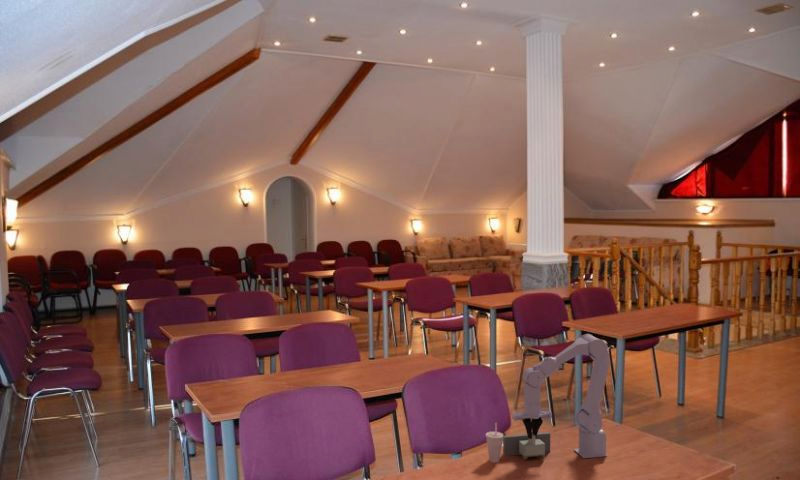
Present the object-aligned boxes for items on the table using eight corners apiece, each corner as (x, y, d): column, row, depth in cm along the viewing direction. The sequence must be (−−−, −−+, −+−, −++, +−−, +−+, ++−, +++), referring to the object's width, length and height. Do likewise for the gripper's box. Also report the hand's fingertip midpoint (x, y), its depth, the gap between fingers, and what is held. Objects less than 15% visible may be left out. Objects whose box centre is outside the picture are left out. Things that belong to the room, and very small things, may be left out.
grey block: (539, 452, 253) (539, 431, 252) (545, 457, 248) (545, 435, 247) (519, 454, 251) (519, 433, 251) (524, 459, 246) (524, 437, 246)
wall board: (548, 450, 257) (548, 432, 256) (553, 454, 252) (553, 436, 252) (503, 454, 253) (503, 436, 253) (507, 459, 249) (507, 440, 248)
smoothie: (502, 464, 244) (503, 426, 243) (484, 463, 245) (484, 425, 244) (503, 457, 250) (503, 420, 249) (486, 456, 252) (486, 419, 250)
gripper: (517, 406, 242) (517, 443, 244) (555, 403, 245) (555, 440, 247) (510, 400, 249) (510, 436, 251) (547, 397, 252) (547, 433, 254)
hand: (531, 437), depth 249 cm, fingers closed on grey block
